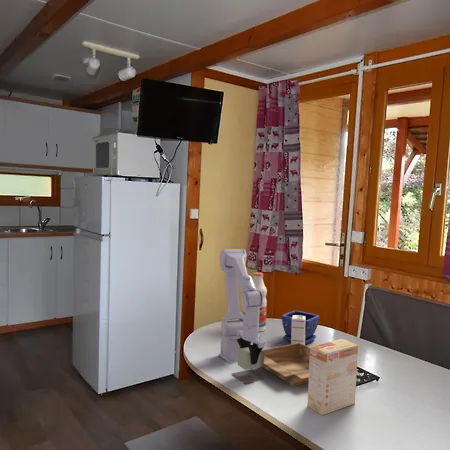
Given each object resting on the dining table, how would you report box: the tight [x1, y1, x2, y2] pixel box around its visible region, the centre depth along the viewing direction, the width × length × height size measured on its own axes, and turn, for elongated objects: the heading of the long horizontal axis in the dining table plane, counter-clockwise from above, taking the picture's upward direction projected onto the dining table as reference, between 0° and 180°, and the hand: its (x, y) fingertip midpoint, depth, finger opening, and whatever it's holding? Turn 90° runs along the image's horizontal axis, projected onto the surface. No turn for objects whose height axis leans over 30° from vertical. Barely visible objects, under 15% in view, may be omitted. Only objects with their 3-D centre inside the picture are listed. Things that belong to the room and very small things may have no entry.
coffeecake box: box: [307, 338, 359, 416], centre depth 133 cm, size 15×7×20 cm, turn 123°
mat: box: [231, 368, 267, 385], centre depth 153 cm, size 9×9×1 cm
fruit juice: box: [252, 271, 268, 333], centre depth 207 cm, size 9×9×28 cm
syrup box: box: [290, 315, 306, 345], centre depth 181 cm, size 6×6×14 cm
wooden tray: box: [263, 343, 310, 387], centre depth 156 cm, size 23×23×6 cm
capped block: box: [237, 347, 265, 371], centre depth 152 cm, size 5×8×6 cm, turn 121°
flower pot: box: [281, 310, 320, 345], centre depth 193 cm, size 13×13×12 cm
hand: (249, 360), depth 152 cm, fingers closed on capped block, 5 cm apart
